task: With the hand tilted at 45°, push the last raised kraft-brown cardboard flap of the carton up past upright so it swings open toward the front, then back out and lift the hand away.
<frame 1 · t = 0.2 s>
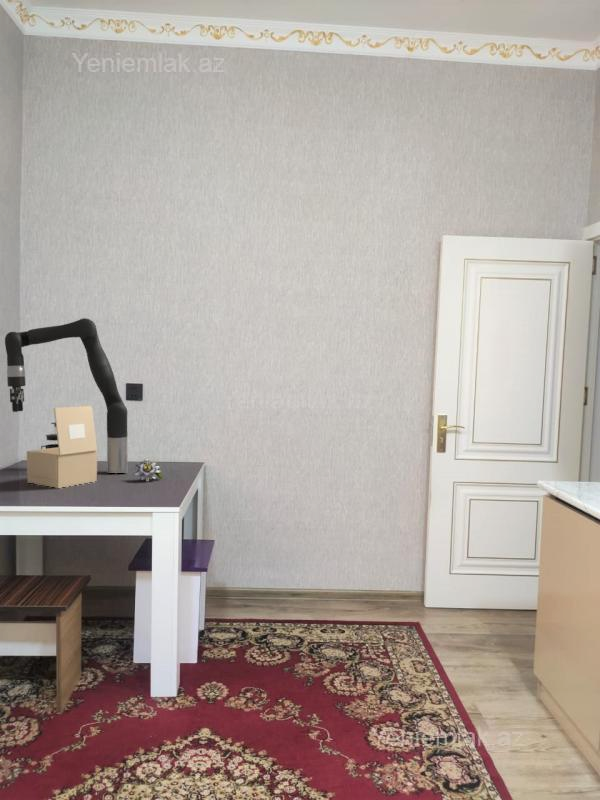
hand: (17, 411, 297), 29 cm above the table, tool pointing down, fingers open, 8 cm apart
carton flap: (76, 429, 276), point 24 cm above the table, hinge at 80.0°
carton: (62, 482, 282), on the table
passion flower: (147, 480, 291), on the table
french press: (54, 470, 316), on the table
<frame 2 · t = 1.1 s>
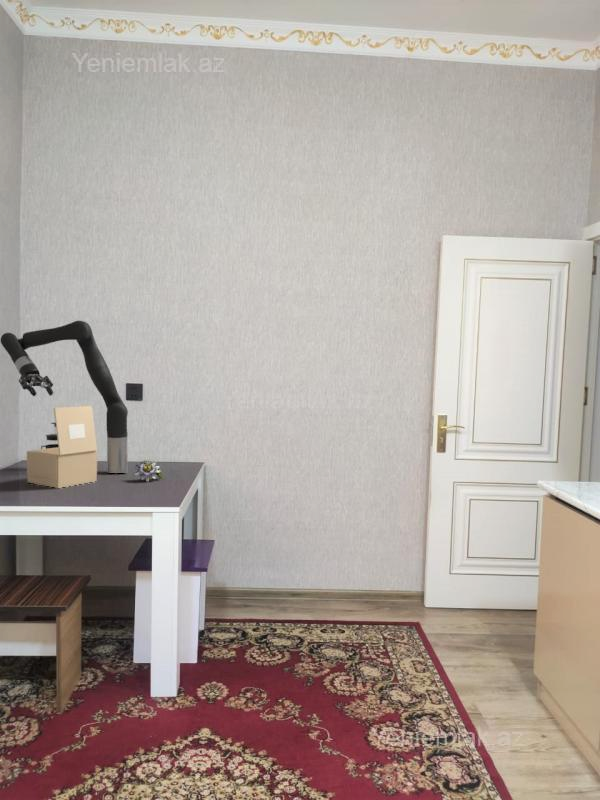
hand: (43, 394, 288), 38 cm above the table, tool tilted 45°, fingers open, 8 cm apart
nothing on the table moved.
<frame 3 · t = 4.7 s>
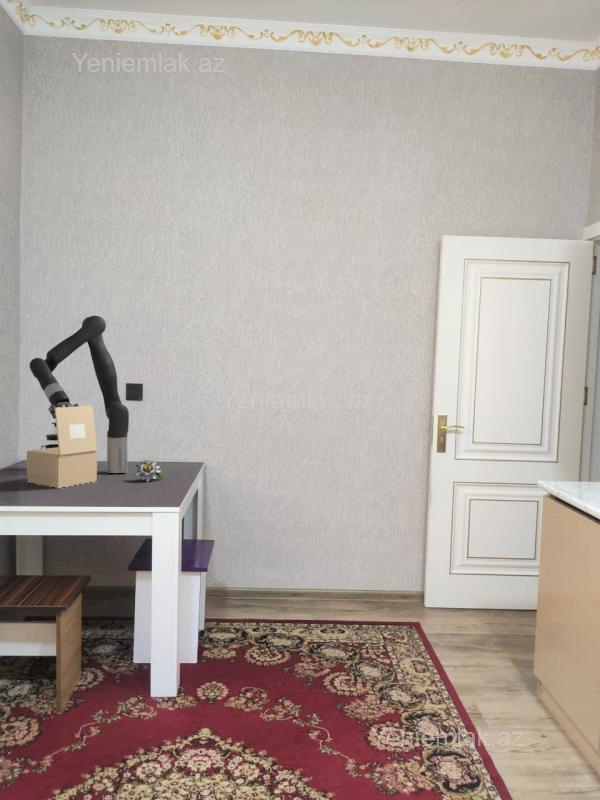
hand: (74, 423, 277), 26 cm above the table, tool tilted 45°, fingers open, 8 cm apart
carton flap: (76, 429, 276), point 24 cm above the table, hinge at 81.4°, touching gripper
everything else where it was.
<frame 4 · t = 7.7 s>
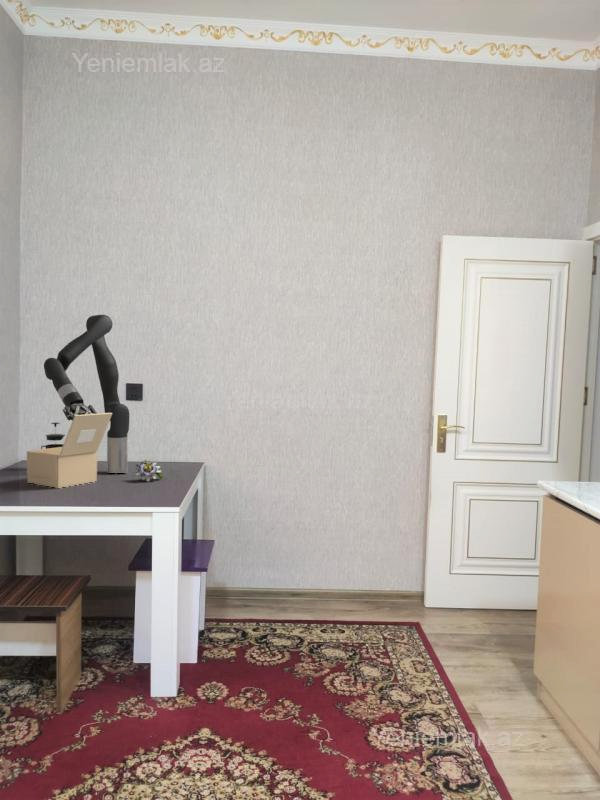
hand: (88, 425, 272), 26 cm above the table, tool tilted 45°
carton flap: (86, 434, 273), point 22 cm above the table, hinge at 119.4°, touching gripper
everything else where it was.
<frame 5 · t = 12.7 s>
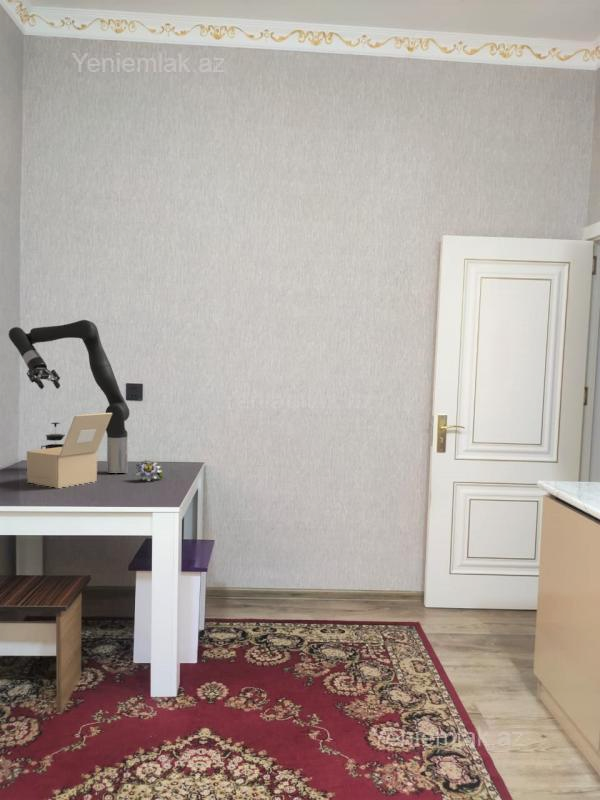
hand: (50, 387, 296), 41 cm above the table, tool tilted 45°, fingers open, 8 cm apart
carton flap: (86, 434, 273), point 22 cm above the table, hinge at 119.4°
everything else where it was.
at the end: carton flap at +119° (first picture: +80°); the gripper is holding nothing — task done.
